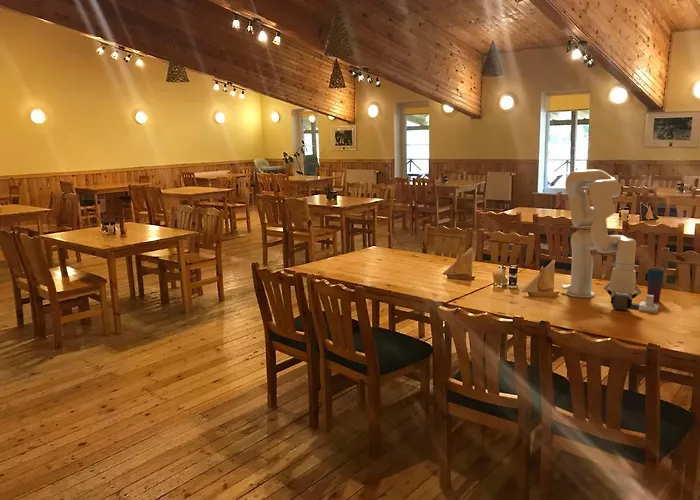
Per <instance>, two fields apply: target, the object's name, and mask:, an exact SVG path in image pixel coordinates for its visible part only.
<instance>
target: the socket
mask: <svg viewBox="0 0 700 500" xmlns="http://www.w3.org/2000/svg"><path fill="white" fill-rule="evenodd" d="M628 299H629V296H628V294H627V293H620V292H616V293H615V294H614V301H613V306H612V309H614V310H615V309H616V310H622V311H627V310H628V309H629V308H627V306H628Z"/></svg>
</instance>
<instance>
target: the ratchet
mask: <svg viewBox="0 0 700 500" xmlns="http://www.w3.org/2000/svg"><path fill="white" fill-rule="evenodd" d="M653 298H654V295H648V294H646V295H645V301H642V300H641V301H640V302H639V303H638V302H637V303H635V302H632V306H630V307H629V308H628V309H633V310H634V309H635V310H638V311H639V312H646V313H655V314H658V311H659V309H660V303H659V302H653Z"/></svg>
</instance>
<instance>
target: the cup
mask: <svg viewBox="0 0 700 500" xmlns="http://www.w3.org/2000/svg"><path fill="white" fill-rule="evenodd" d="M664 272H665V269H664V268H662V267H648V268H647V284H646V285H647V291H646V292H647V294H648V295H654V298H653V303H659V302H660V299H661V294H662V288H663V287H662V286H663V280H664V274H665V273H664ZM647 294H646V295H647Z"/></svg>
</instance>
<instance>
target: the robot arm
mask: <svg viewBox="0 0 700 500" xmlns="http://www.w3.org/2000/svg"><path fill="white" fill-rule="evenodd" d="M564 186H565V191H566V194H567V197H568V203H569V211H570V218H571V223H572V226H573V227H575V228H590V229H581V230H577V231H575V232H573V233H572V234H571V236H570V246H571V270H570V284H568V285H567V284H561V285H560V287H561V289H562V290H567V291H566V295H568V296H569V297H572V298H578V299H579V298H580V299H590V298H593V297H595V295H596V294H595V292H594V291H592V286H593V285H592V283H593V272H594V271H593V270H594V257H593V255H592V253H591V250H596V251H597V252H598V253H604V254H605V253H615V261H614V262H611V266H612V267H613V268H612V270H611V274H610V279H609V280H610V281H609V282H608V283H606V285H605V286H604V287H603V289H604V290H605V292H607V294H608V295H609V296H610V304H611V306H612V307H613V301H614V294H615V293H616V292H619V293H627V294H628V296H629V299H628V306H627V308H628V309H630V308H629V307H630V306H632V303H633V299H635V298H636V297H638V296H639V295H641V294H642V290H641V289H640V288H639V287H638V286H637V272H636V270H635V262H636V252H637V251H636V249H637V241H636V240H635V239H634V238H630V237H627V236H624V235H623V234H622V235H621V234H610V235H609V233H608V226H607V225H608V224H607V218H610V217H612V216H614V214H615V213H616V208H615V204H614V200H613V199H614V198H617V197H619V196H620V195H621V192H622V187H621V184H620V181H618V180H617V179H616V178H615V177H613V176H612V175H610V174H608V172H606V171H604V170H602V169H579V170H574V171H572V172H570V173H569V174H568V175H567V177H566V180H565V185H564ZM583 189H588V191H589V192H588V193H589V196H588V195H587V193H586V192H585V191H584V190H583ZM589 197H590V200H591V203H592V206H590V203H589ZM635 291H636V292H635Z"/></svg>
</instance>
